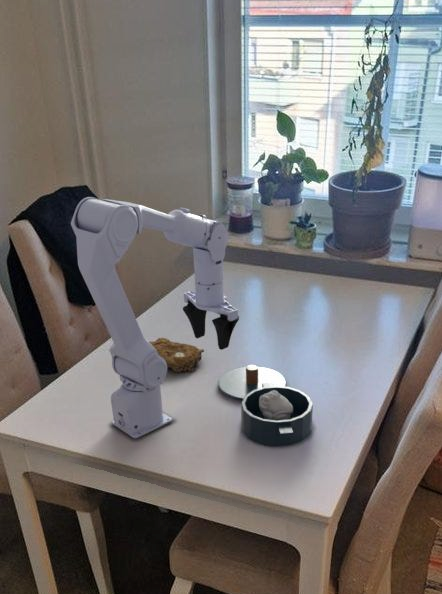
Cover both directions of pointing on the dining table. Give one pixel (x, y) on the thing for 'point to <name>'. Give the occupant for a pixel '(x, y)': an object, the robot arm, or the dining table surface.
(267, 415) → the grey lumpy piece
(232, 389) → the pan lid
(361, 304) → the dining table surface
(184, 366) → the decorative rock
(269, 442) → the pan
